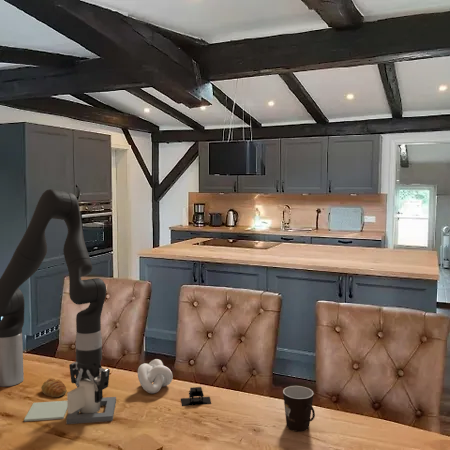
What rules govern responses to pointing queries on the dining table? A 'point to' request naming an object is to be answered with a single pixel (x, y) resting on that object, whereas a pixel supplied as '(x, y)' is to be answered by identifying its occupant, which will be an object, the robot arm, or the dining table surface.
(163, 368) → the white knot sculpture
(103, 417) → the socket
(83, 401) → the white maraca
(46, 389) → the pastry
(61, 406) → the trivet
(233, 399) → the dining table surface
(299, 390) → the coffee mug
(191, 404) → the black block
